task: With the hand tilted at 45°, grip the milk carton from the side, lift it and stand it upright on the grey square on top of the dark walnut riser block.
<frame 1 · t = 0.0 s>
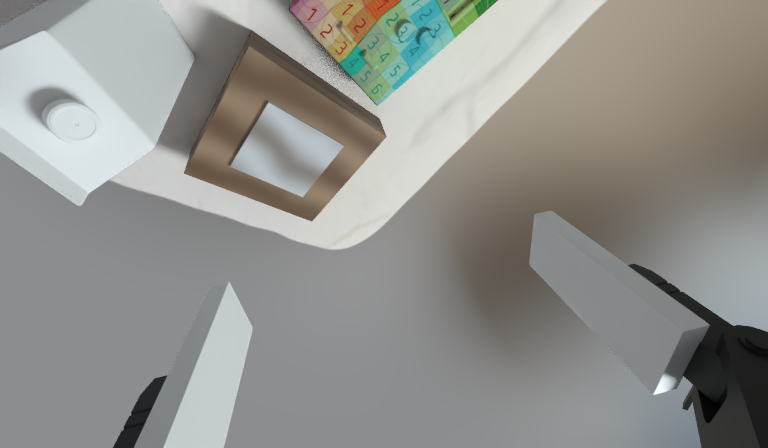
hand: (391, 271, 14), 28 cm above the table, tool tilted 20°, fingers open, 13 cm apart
milk carton: (132, 28, 28), on the table
walnut riser: (287, 135, 39), on the table
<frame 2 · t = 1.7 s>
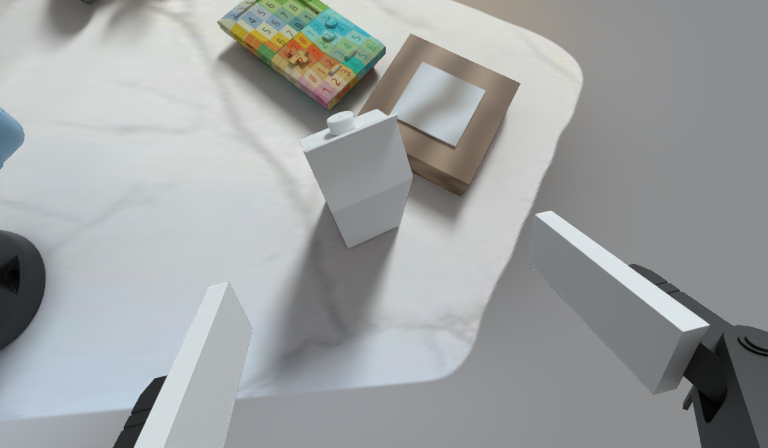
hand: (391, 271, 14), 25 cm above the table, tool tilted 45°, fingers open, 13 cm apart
milk carton: (362, 212, 41), on the table
walnut riser: (432, 121, 44), on the table
puzzle game: (307, 56, 47), on the table
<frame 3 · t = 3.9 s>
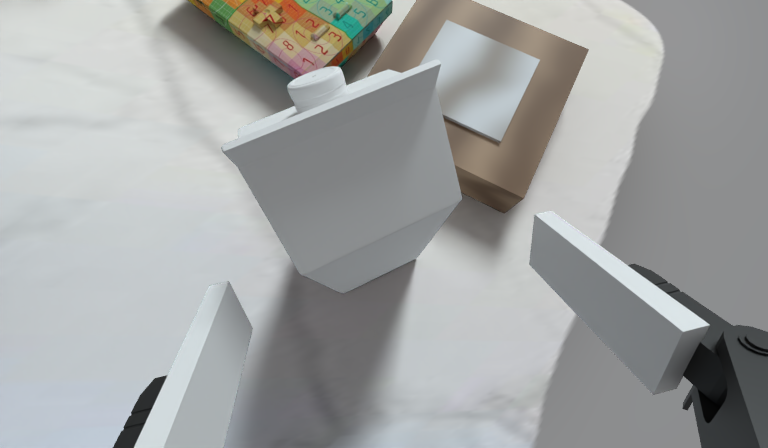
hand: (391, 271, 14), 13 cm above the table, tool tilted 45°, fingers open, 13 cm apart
milk carton: (363, 239, 28), on the table
walnut riser: (459, 107, 31), on the table
puzzle game: (284, 21, 34), on the table
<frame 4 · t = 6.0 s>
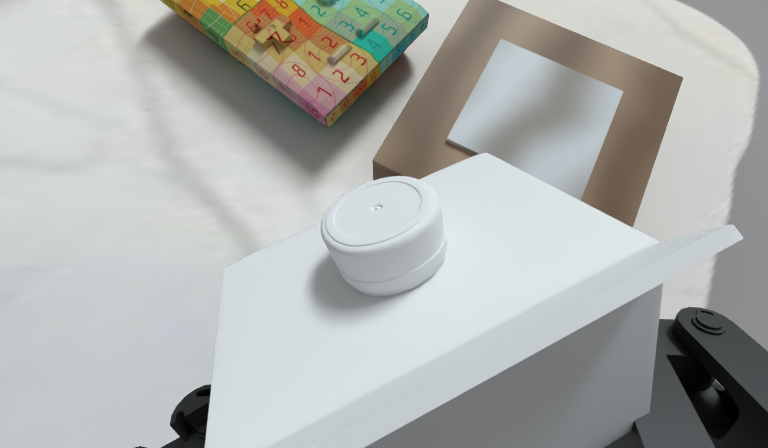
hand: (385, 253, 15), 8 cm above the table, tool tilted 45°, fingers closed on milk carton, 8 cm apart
milk carton: (394, 320, 22), on the table, touching gripper
walnut riser: (511, 146, 25), on the table
puzzle game: (292, 36, 28), on the table
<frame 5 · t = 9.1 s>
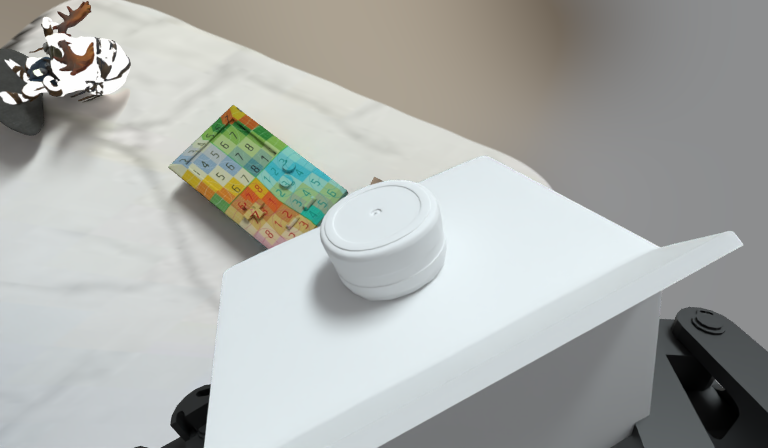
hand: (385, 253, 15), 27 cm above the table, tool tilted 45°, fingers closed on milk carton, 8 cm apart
milk carton: (394, 322, 22), point 19 cm above the table, touching gripper
figurine: (85, 95, 48), on the table
puzzle game: (267, 189, 45), on the table
when the fingers open (13 cm above the table, at t = 12.5 s): milk carton drops 1 cm, resting on walnut riser.
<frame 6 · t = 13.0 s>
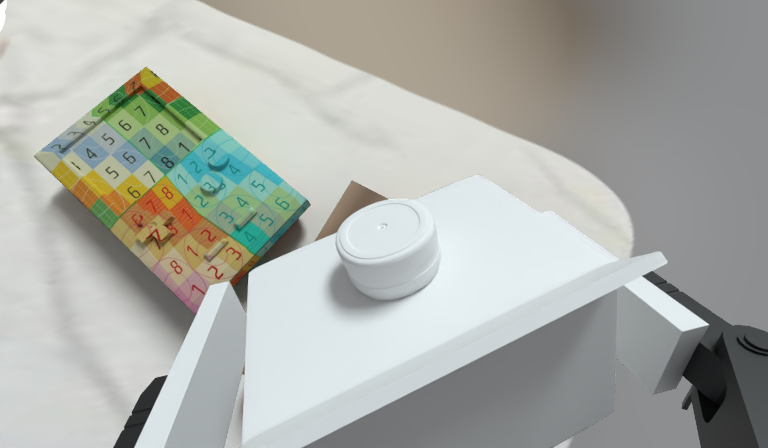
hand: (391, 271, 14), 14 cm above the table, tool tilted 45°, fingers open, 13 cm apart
milk carton: (395, 322, 23), point 4 cm above the table, touching walnut riser
walnut riser: (391, 319, 27), on the table
puzzle game: (195, 194, 30), on the table
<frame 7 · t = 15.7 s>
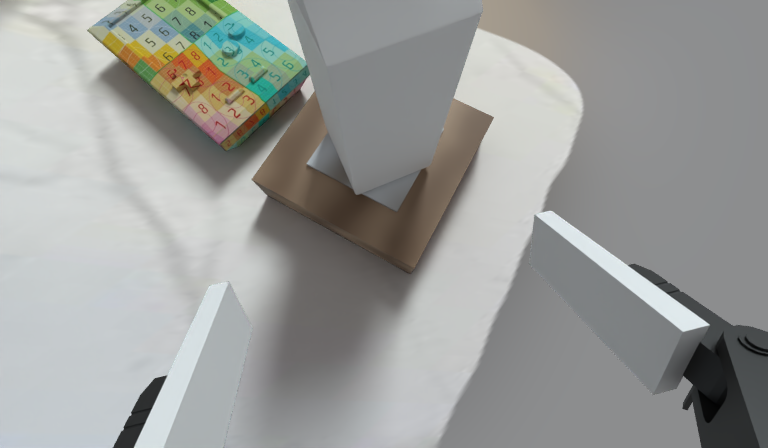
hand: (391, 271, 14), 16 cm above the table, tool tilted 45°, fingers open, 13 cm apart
milk carton: (377, 148, 29), point 4 cm above the table, touching walnut riser
walnut riser: (377, 166, 33), on the table
puzzle game: (215, 74, 36), on the table
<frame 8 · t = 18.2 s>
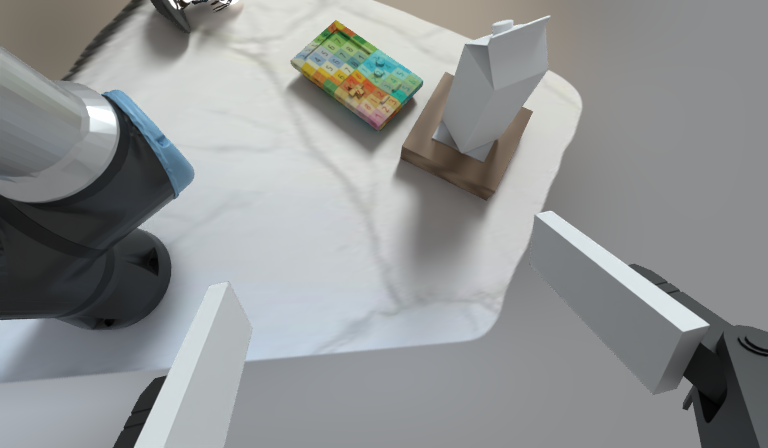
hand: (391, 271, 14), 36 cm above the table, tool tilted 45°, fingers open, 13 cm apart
milk carton: (469, 128, 52), point 4 cm above the table, touching walnut riser
walnut riser: (462, 141, 56), on the table
figurine: (213, 8, 63), on the table
puzzle game: (357, 86, 59), on the table
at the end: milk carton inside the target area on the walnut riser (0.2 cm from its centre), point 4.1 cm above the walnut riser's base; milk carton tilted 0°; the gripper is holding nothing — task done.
